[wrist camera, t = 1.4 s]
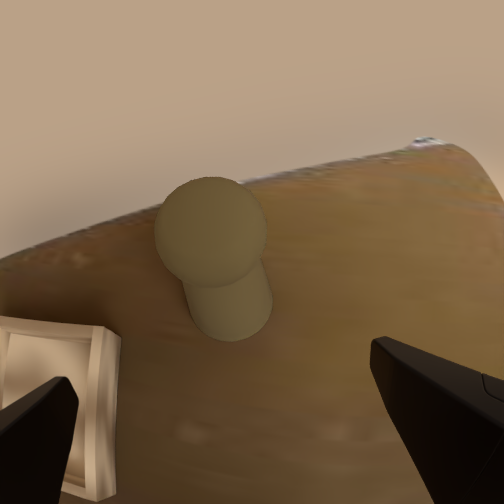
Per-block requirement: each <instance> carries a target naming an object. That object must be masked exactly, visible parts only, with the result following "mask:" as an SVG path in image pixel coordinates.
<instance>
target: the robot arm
mask: <svg viewBox="0 0 504 504" xmlns="http://www.w3.org/2000/svg"><path fill="white" fill-rule="evenodd" d="M370 368H371V372H372V374H373V377H374V379H375V382H376V384H377V387H378V389H379V392H380V394H381V397H382V400H383V402H384V405H385V407H386V410H387V412H388V414H389V416H390V418H391V420H392V422H393V424H394V425H395V427H396V429H397V431H398V433H399V435H400V437H401V439H402V441H403V442H404V444H405V446H406V448H407V450H408V452H409V454H410V456H411V458H412V460H413V462H414V464H415V466H416V468H417V470H418V472H419V474H420V476H421V478H422V480H423V482H424V484H425V486H426V488H427V490H428V492H429V494H430V496H431V498H432V500H433V502H434V504H504V380H501V379H498V378H495V377H492V376H489V375H487V374H484V373H482V374H481V372H478V371H476V370H473V369H470V368H467V367H465V366H462V365H459V364H457V363H454V362H451V361H449V360H446V359H443V358H441V357H438V356H436V355H433V354H430V353H428V352H425V351H423V350H420V349H417V348H415V347H412V346H410V345H407V344H404V343H402V342H399V341H397V340H394V339H392V338H389V337H386V336H383V337H379V338H376V339H373V340H372V342H371V352H370ZM78 407H79V398H78V396H77V394H76V392H75V390H74V388H73V386H72V384H71V382H70V380H69V379H68V378H67V377H66V376H56V377H54V378H52V379H50V380H49V381H47V382H45V383H44V384H42V385H41V386H39V387H37V388H36V389H34V390H33V391H31V392H29V393H28V394H26V395H25V396H23V397H21V398H20V399H18V400H16V401H15V402H13V403H12V404H10V405H8V406H7V407H5V408H4V409H2V410H0V504H58V503H59V498H60V494H61V489H62V484H63V480H64V475H65V471H66V467H67V463H68V459H69V455H70V451H71V447H72V442H73V437H74V430H75V424H76V418H77V413H78Z"/></svg>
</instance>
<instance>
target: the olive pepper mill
mask: <svg viewBox="0 0 504 504" xmlns="http://www.w3.org/2000/svg"><path fill="white" fill-rule="evenodd" d="M266 235H267V221H266V218H265V215H264V212H263V209H262V207H261V204H260V202H259V201H258V200H257V198H256V197H255V196H254V195H253V194H252V192H251V191H250V190H248V189H246V188H245V187H243V186H242V185H240V184H238V183H237V182H235V181H233V180H229V179H226V178H222V177H203V178H199V179H195V180H191V181H189V182H187V183H185V184H183V185H181V186H179V187H178V188H177V189H175V190H174V191H173V192H172V193H171V194H170V195H169V196H168V197H167V198H166V199H165V201H164V203H163V204H162V206H161V207H160V209H159V211H158V213H157V217H156V220H155V224H154V236H155V245H156V250H157V252H158V254H159V256H160V258H161V260H162V261H163V263H164V265H165V266H166V268H167V269H168V270H169V271H170V272H172V273H173V274H174V275H175V276H176V277H177V278H179V279H180V280H182V284H183V288H184V292H185V295H186V299H187V303H188V307H189V310H190V314H191V317H192V319H193V320H194V322H195V324H196V326H197V327H198V328H199V329H200V330H201V331H202V332H204V333H205V334H206V335H207V336H209V337H212V338H214V339H217V340H219V341H230V342H235V341H239V340H243V339H247V338H249V337H250V336H252V335H253V334H255V333H257V332H258V331H259V330H260V329H261V328H262V327H263V326H264V324H265V323H266V322H267V321H268V318H269V316H270V313H271V311H272V304H273V295H272V292H271V289H270V285H269V282H268V279H267V276H266V273H265V270H264V267H263V264H262V261H261V258H260V257H261V255H262V252H263V250H264V248H265V246H266Z"/></svg>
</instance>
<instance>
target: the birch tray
mask: <svg viewBox="0 0 504 504" xmlns="http://www.w3.org/2000/svg"><path fill="white" fill-rule="evenodd" d="M121 340H122V338H121V337H119V336H118V335H116V334H115V333H113V332H112V331H110V330H108V329H107V328H105V327H104V326H90V325H77V324H66V323H56V322H46V321H37V320H28V319H20V318H12V317H5V316H0V410H2V409H4V408H5V407H7V406H8V405H10V404H12V403H13V402H15V401H16V400H18V399H20V398H21V397H23V396H25V395H26V394H28V393H29V392H31V391H33V390H34V389H36V388H37V387H39V386H41V385H42V384H44V383H45V382H47V381H49V380H50V379H52V378H54V377H56V376H66V377H67V378H68V379H69V380H70V382H71V384H72V386H73V388H74V390H75V392H76V394H77V396H78V398H79V407H78V413H77V418H76V424H75V430H74V437H73V442H72V447H71V451H70V455H69V459H68V463H67V467H66V471H65V475H64V480H63V484H62V489H61V491H64V492H67V493H70V494H73V495H76V496H79V497H82V498H85V499H88V500H92V501H95V502H98V501H101V500H103V499H106V498H108V497H110V496H113V495H115V494H116V470H115V436H116V405H117V387H118V373H119V361H120V350H121Z"/></svg>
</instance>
